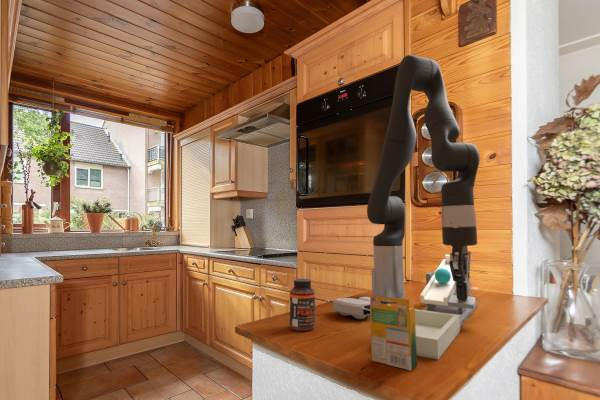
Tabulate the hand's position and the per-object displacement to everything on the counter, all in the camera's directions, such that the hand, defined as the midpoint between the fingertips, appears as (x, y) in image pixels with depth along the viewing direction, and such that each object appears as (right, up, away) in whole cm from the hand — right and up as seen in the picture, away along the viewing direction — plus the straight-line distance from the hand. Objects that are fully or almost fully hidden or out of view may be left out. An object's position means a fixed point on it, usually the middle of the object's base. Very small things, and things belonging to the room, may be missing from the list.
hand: (462, 298), depth 81 cm
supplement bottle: (-38, -7, 0) cm, 38 cm away
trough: (+4, -1, +11) cm, 12 cm away
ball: (-1, +3, +10) cm, 11 cm away
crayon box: (-22, -6, -21) cm, 31 cm away
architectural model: (+15, -9, +32) cm, 36 cm away
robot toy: (-22, -8, +12) cm, 26 cm away
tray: (-13, -6, -8) cm, 16 cm away
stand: (+1, -7, +12) cm, 14 cm away
